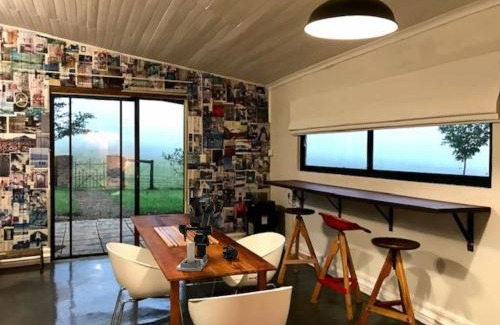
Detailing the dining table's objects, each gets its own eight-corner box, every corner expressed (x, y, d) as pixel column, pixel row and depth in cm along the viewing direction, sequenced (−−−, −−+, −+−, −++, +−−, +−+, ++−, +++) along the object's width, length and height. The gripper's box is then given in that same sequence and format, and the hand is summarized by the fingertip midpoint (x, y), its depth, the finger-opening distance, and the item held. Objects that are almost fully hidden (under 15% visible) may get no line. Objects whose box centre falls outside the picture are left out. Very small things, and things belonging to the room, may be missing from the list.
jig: (185, 260, 236) (185, 253, 236) (207, 261, 235) (207, 254, 235) (176, 270, 217) (176, 261, 217) (200, 271, 216) (200, 262, 216)
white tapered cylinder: (193, 266, 224) (194, 241, 224) (194, 268, 220) (195, 243, 220) (186, 267, 223) (186, 241, 223) (187, 269, 219) (187, 243, 219)
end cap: (238, 259, 241) (238, 248, 241) (226, 260, 239) (226, 249, 239) (233, 255, 251) (233, 244, 251) (222, 256, 249) (222, 245, 248)
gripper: (179, 209, 231) (173, 233, 221) (211, 211, 230) (207, 234, 219) (182, 221, 240) (177, 244, 229) (214, 222, 238) (210, 245, 227)
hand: (192, 241), depth 226 cm, fingers open, 9 cm apart
